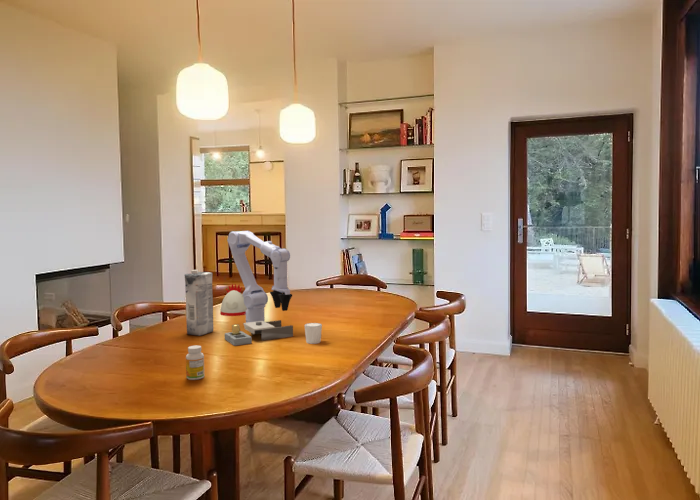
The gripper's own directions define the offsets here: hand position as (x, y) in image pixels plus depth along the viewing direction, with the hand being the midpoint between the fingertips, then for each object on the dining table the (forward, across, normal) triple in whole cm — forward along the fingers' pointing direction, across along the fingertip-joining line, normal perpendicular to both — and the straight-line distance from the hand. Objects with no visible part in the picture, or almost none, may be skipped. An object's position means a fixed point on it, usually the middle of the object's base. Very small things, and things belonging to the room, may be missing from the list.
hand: (281, 309), depth 221 cm
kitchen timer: (+10, -50, -4) cm, 51 cm away
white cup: (+10, +22, +4) cm, 25 cm away
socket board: (+10, +5, -21) cm, 24 cm away
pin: (+10, +2, -21) cm, 23 cm away
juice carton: (+10, -17, -30) cm, 36 cm away
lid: (+7, +3, -11) cm, 14 cm away
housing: (+10, +3, -6) cm, 12 cm away
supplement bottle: (+10, +41, -47) cm, 63 cm away
